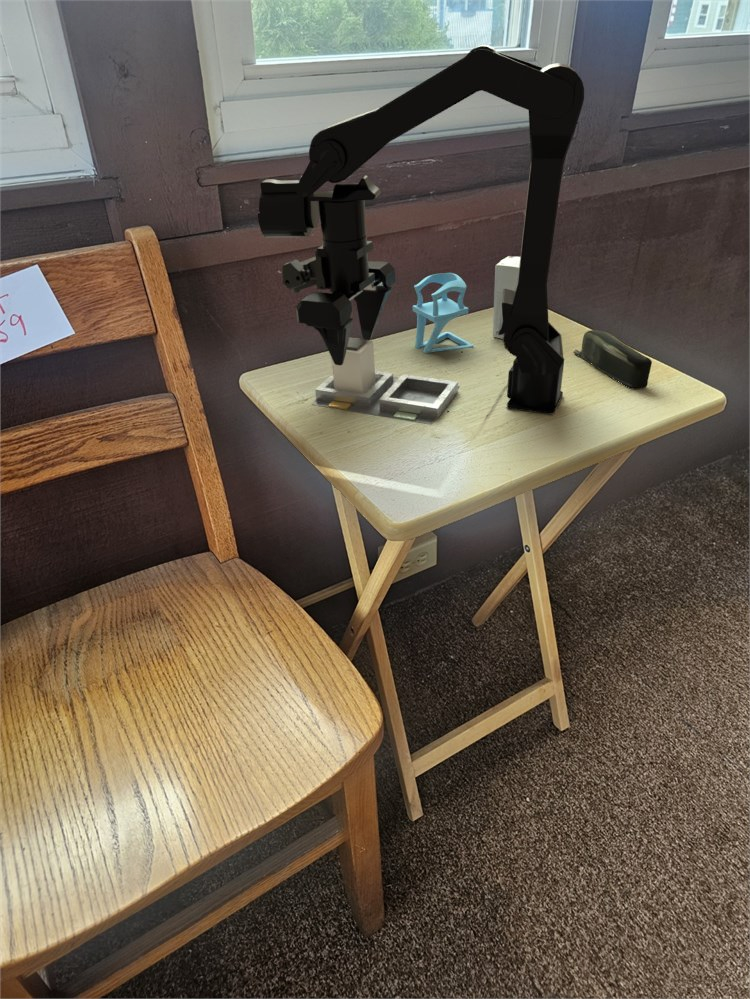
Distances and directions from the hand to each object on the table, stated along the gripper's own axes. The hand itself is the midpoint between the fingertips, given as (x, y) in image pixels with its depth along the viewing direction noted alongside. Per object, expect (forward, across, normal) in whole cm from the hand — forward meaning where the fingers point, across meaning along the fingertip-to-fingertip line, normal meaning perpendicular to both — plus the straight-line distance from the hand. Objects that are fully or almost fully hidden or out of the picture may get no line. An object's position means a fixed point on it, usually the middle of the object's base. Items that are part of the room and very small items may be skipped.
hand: (353, 351), depth 94 cm
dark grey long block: (+7, -20, +33) cm, 39 cm away
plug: (+6, 0, 0) cm, 6 cm away
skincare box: (+7, -30, +15) cm, 34 cm away
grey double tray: (+7, 0, +5) cm, 8 cm away
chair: (+7, -20, +6) cm, 22 cm away
